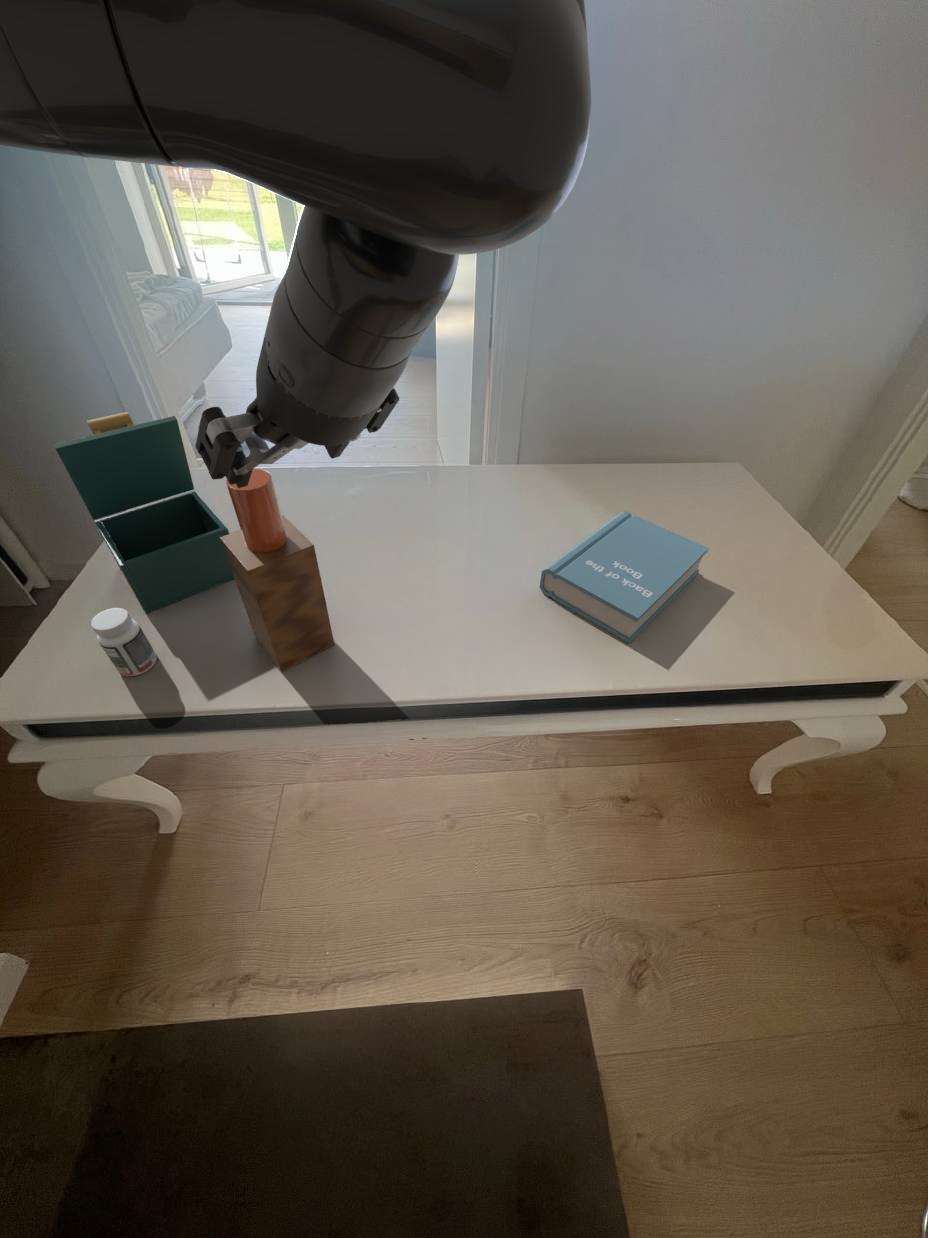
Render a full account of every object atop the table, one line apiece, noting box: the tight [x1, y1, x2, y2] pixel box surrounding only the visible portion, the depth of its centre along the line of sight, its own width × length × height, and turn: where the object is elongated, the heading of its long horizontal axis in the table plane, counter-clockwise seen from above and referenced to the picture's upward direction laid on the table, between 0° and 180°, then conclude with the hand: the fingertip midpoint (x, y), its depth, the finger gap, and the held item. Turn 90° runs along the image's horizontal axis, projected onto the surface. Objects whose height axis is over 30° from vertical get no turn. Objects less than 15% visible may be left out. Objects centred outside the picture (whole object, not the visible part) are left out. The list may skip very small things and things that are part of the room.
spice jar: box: [225, 468, 287, 553], centre depth 58 cm, size 5×5×8 cm
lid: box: [52, 411, 195, 521], centre depth 74 cm, size 14×15×5 cm
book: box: [538, 510, 710, 644], centre depth 82 cm, size 23×16×5 cm
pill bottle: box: [90, 607, 158, 677], centre depth 66 cm, size 5×5×8 cm
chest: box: [93, 490, 235, 615], centre depth 80 cm, size 14×15×9 cm
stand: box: [220, 514, 335, 673], centre depth 67 cm, size 8×8×17 cm
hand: (284, 461), depth 45 cm, fingers open, 8 cm apart
